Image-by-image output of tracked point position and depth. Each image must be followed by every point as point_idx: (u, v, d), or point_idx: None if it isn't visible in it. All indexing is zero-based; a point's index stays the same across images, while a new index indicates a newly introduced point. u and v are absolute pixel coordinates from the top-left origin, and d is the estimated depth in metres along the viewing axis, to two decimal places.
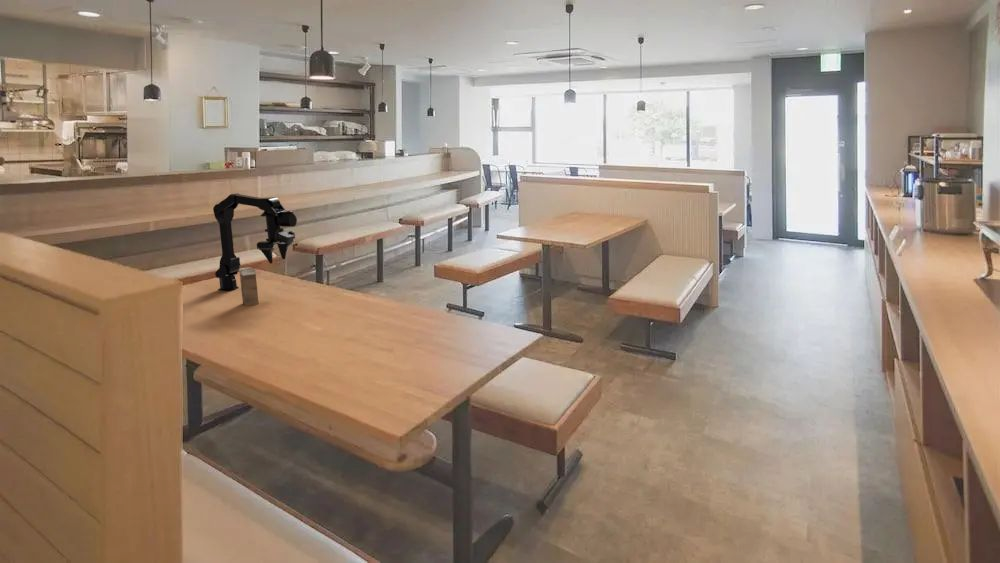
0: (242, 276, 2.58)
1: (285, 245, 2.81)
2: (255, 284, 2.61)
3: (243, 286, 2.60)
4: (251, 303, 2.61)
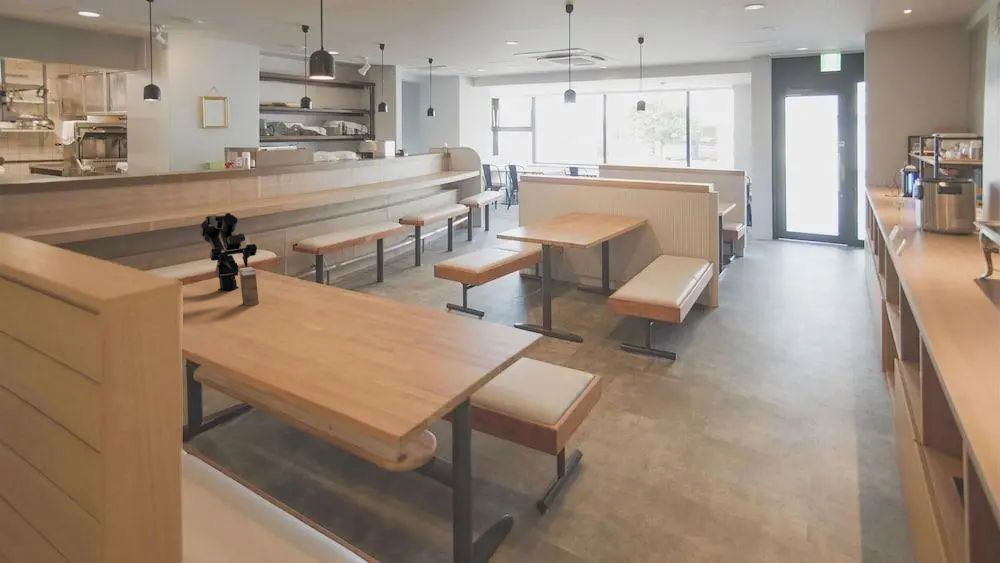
0: (242, 276, 2.58)
1: (244, 253, 2.73)
2: (255, 284, 2.61)
3: (243, 286, 2.60)
4: (251, 303, 2.61)
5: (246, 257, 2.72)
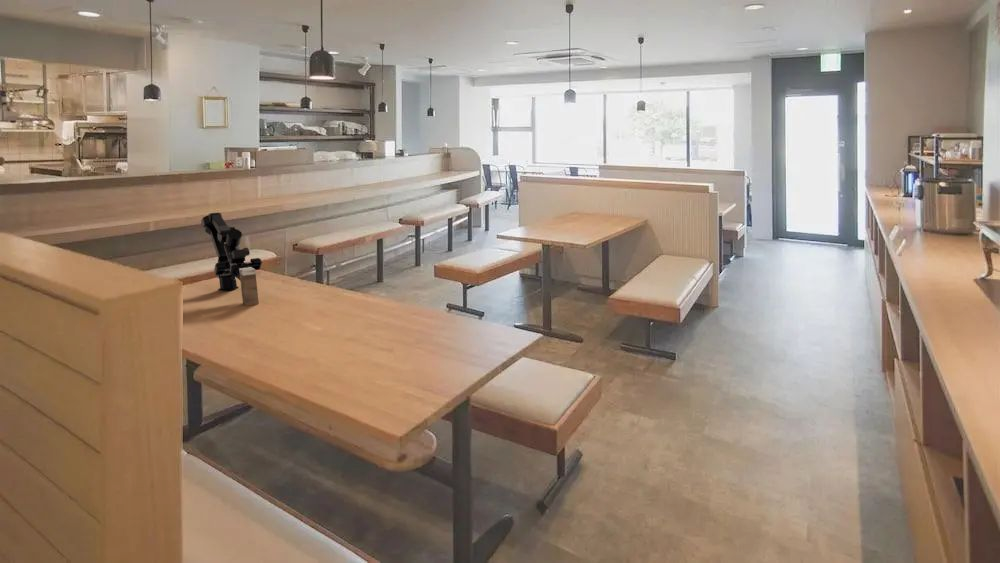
0: (242, 276, 2.58)
1: None
2: (255, 284, 2.61)
3: (243, 286, 2.60)
4: (251, 303, 2.61)
5: None
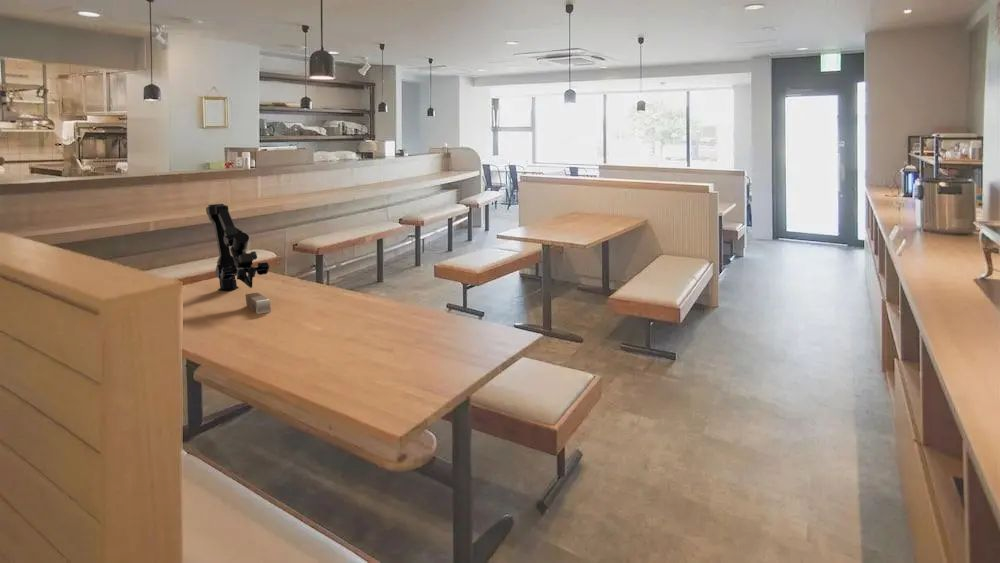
0: (255, 309, 2.51)
1: (248, 272, 2.61)
2: None
3: (252, 306, 2.54)
4: None
5: (251, 277, 2.61)
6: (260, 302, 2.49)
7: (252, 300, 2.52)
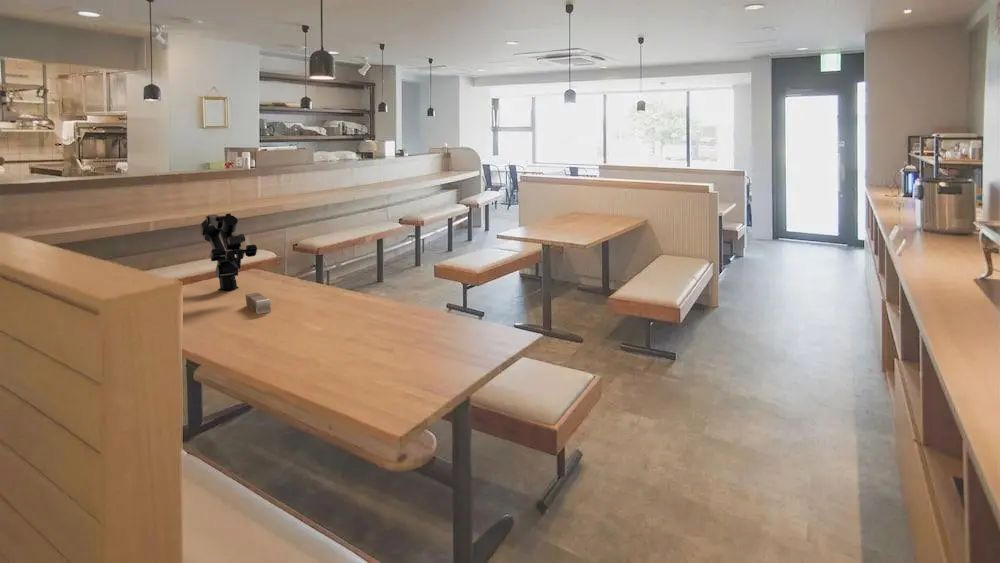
0: (255, 309, 2.51)
1: (237, 254, 2.71)
2: None
3: (252, 306, 2.54)
4: None
5: (239, 258, 2.70)
6: (260, 302, 2.49)
7: (252, 300, 2.52)
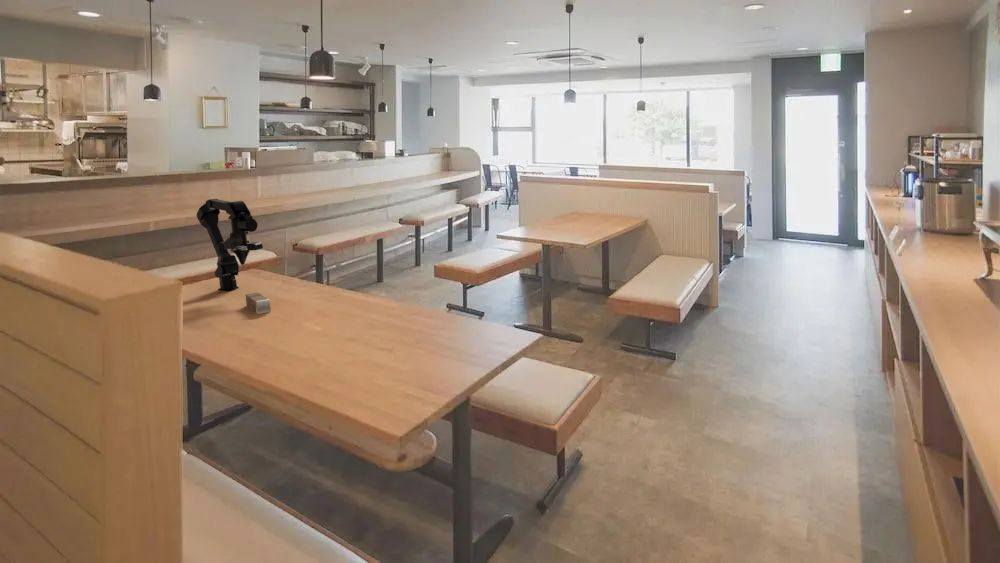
0: (255, 309, 2.51)
1: None
2: None
3: (252, 306, 2.54)
4: None
5: (241, 256, 2.76)
6: (260, 302, 2.49)
7: (252, 300, 2.52)
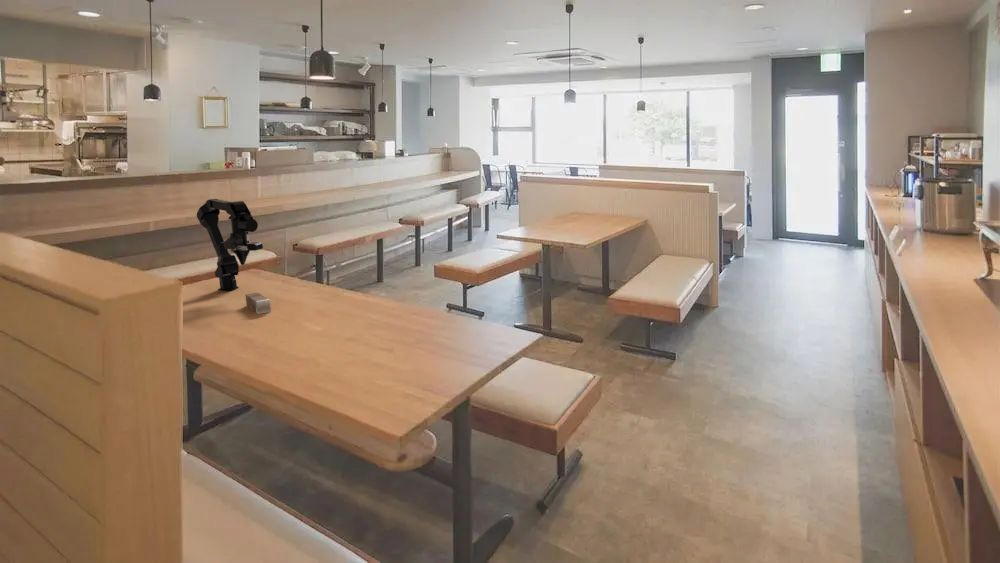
0: (255, 309, 2.51)
1: None
2: None
3: (252, 306, 2.54)
4: None
5: (242, 256, 2.76)
6: (260, 302, 2.49)
7: (252, 300, 2.52)
